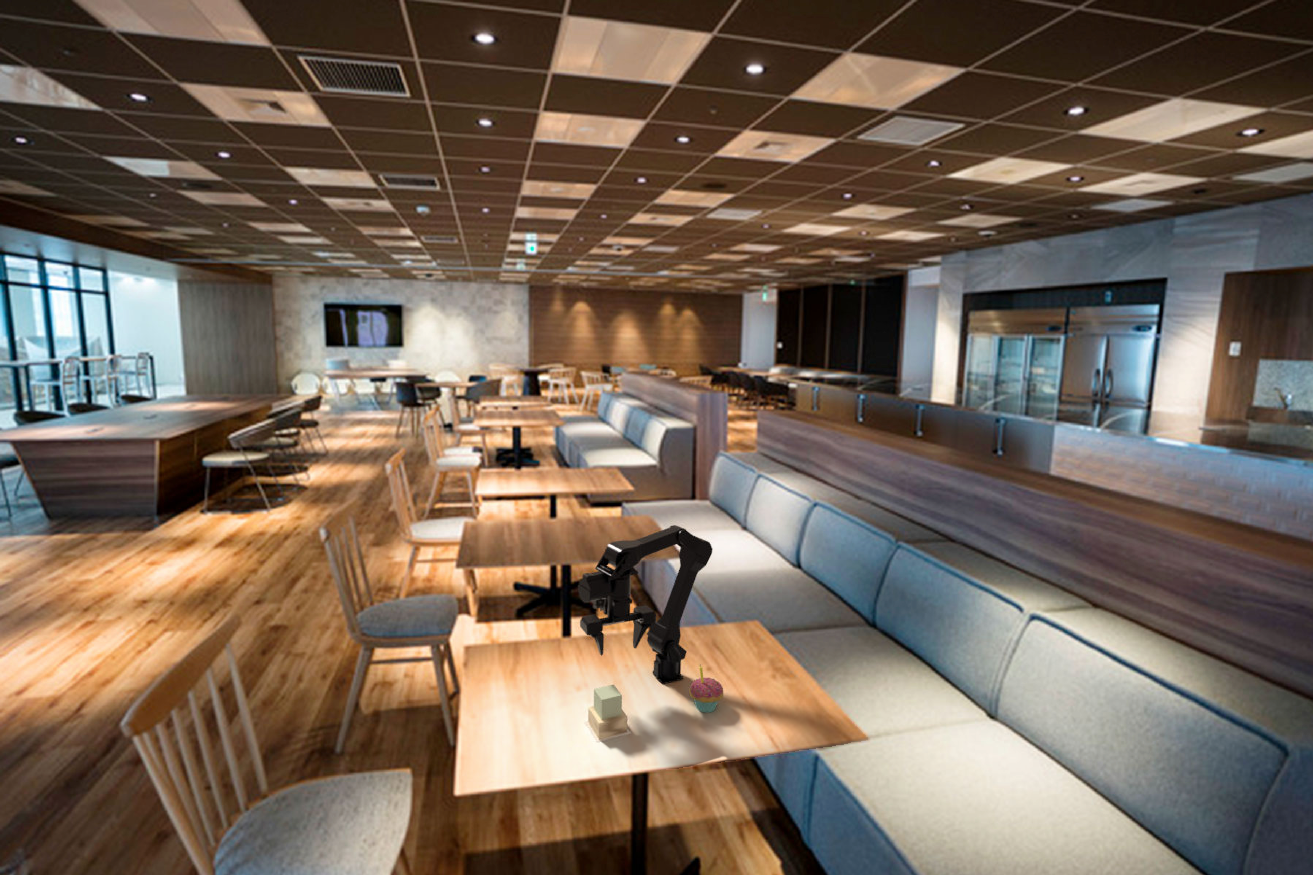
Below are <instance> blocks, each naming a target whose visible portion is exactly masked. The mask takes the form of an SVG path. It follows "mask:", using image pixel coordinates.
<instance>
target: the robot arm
mask: <svg viewBox="0 0 1313 875" xmlns="http://www.w3.org/2000/svg"><path fill="white" fill-rule="evenodd" d="M676 545H677V546H678V547H679V548H680V549H679V553H678V554H679V555H678V557H679V564H680V566H679V569H678V572H677V576H676V577H675V580H674V583H673V585H672V588H671V592H670V594H669V596H668V599H667V602H666V606H665V608H664V610H663V613H662V616H661V617H660V618H659V619H658V620H657V614H656V612H655V611H654V610H653V609H652V608H651V607H649V606H648V605H647V604H646V605H639V606H634V608H633V611H632V612H631V604H633V599H632V598H631V580H632V579H631V576H636V575H638V574H639V571H638V570H637V569H635V566H636V565H638V564H640V562H641V560H642V559H643V558H645V557H647V556H650V555H652V554H656V553H658V552H661V551H664V550H666V549H668V548H670V547H674V546H676ZM712 554H713V547H712V544H711V543H710V541H708V540H706V539H703V538H701V537H698V536H696V535H694V534H692V533H691V532H689V531H688V530H687V529H686V528H683V527H682V526H679V525H675V524H674V525H670V526H669V527H668V528H664V529H662V530H660V531H657V532H654V533H651V534H648V535H645V536H643V537H640V538H638V539H634V540H629V539H628V540H624V539H623V540H617V541H612V542H610V543H608V544H607V545H606V548H605V550H604V552H603V554H602V556H601V557H600V559H599V560H598V563H597V565H596V566H595V570H596V571H595V572H589V573H587V572H586V573H583V574H582V578H581V579H580V580H579V582H578V585H577V591H578V596H579V598H580V600H581V601H582V602H583V603H584V604H586V603H591V602H592V608H593V609H596V610H597V609H599V611H602V612H603V614H604V615H605V616H606V615H607V616H606V617H601V618H599V617H598V615H597V614H596V613H595V614H589V615H583V616H582V617H581V618H580V620H579V626H580V628H581V630H582V631H583V633H585V634H586V635H587V636H590V637H591V638H593V639H594V641H595V645H596V646H597V650H598V653H599V655H600V656H601V657H602V656H603V655H604V650H605V649H604V647H605V646H604V644H605V642H604V641H605V640H604V637H605V634H604V632H603V630H604V627H606V626H611V625H617V624H622V623H627V622H632V623H633V624H632V625H633V633H632V635H633V636H632V647H633V648H634V649H637V647H638V645H639V644H640V641H641V639H642V638H643V637H644V635H645V634H646V636H647V638H646V639H647V640H646V642H647V643H648V646H649V647H650V648H651V650H652V652H655V660H653V670H652V675H653V676H655V678H656V679H657V680H658V681H659V682H660V683H661V684H667V683H672V682H675V681H680V680H684V675H682V674H681V672H682V671H681V670H682V669H681V667H682V660H685V658H686V655H687V650H686V649H685V648H683V647H682V646H681V645H680V641H681V637H682V636H681V634H682V633H681V627H680V625H681V624H680V623H681V620H682V617H683V614H684V612H685V609H686V605H687V604H688V600H689V598H690V595H691V592H692V590H693V587H694V584H695V581H696V578H697V575H698V573H699V572H700V571H701V570H703V569H704V568H705V567H706V566H707V564H708V562H709V560H710V558H711V556H712ZM608 565H611V566H612V567H614V568H615V569H614V568H612V567H610V566H608ZM647 630H648V632H647Z"/></svg>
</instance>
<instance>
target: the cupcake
mask: <svg viewBox="0 0 1313 875" xmlns="http://www.w3.org/2000/svg"><path fill="white" fill-rule="evenodd" d="M699 676H700V678H697V679H694V681H692V682H691V683H690V685H689V689H688V692H689V696H690V697H691V698H693V701H694V704H695V707H696V709H697V710H698V711H699V712H702V713H711V712H714V711H715V710H716V707H717V704H718V702H719V701H720V700H721V699H723V698H724V687H723V685H722V684H721V683H720V682H719V681H718V680H716V679H715V678H711V677H704V671H703V666H702V665H701V664H700V663H699Z"/></svg>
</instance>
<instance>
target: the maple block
mask: <svg viewBox="0 0 1313 875" xmlns="http://www.w3.org/2000/svg"><path fill="white" fill-rule="evenodd" d="M587 708H588V710H587V712H588V714H587V717H588V718H587V719H588V720H587V721H588V724H589V725H590V727H591V728H592V730H593V731H594V733H595V734H596V736H597V738H598V739H603V738H607V737H611V736H614V735H618V734H622V733H626V732H627V728H628V715H627V714H626V712H625V711H624V710H623V709H622V715H620V716H616V717H612V718H608V719H604V720H601V719H600V717H599V716H598V714H597V713H596V711H595V710H594V705H593V706H590V707H587Z"/></svg>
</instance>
